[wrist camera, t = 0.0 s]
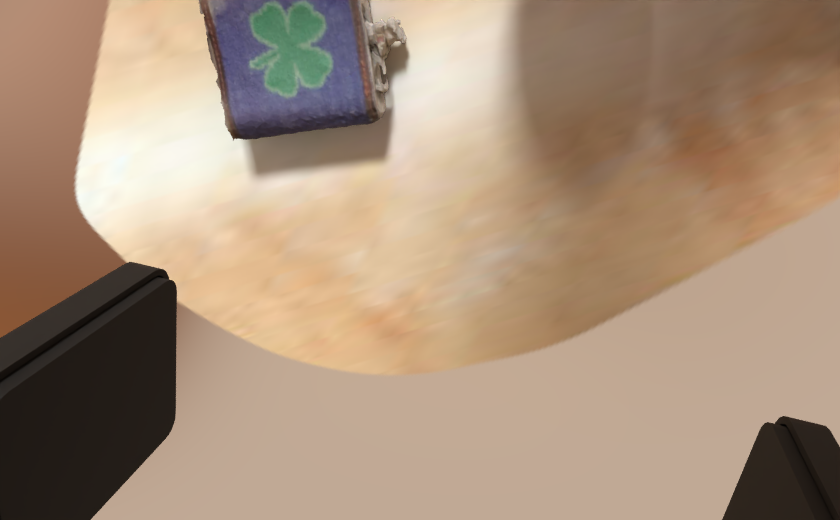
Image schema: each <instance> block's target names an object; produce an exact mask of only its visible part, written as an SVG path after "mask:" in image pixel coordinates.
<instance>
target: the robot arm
mask: <svg viewBox="0 0 840 520" xmlns="http://www.w3.org/2000/svg"><path fill="white" fill-rule="evenodd" d="M176 304H177V290H176V285H175V282H174V281H172V280H169V277H168V274H167V272H166V271H165V270H163V269H159V268H155V267H151V266H146V265H142V264H138V263H133V262H129V263H126V264H124V265H122V266H121V267H119V268H117V269H116V270H114V271H112V272H111V273H109V274H107V275H105V276H104V277H102V278H100V279H99V280H97V281H96V282H94V283H92V284H90V285H89V286H87V287H85V288H84V289H82V290H80V291H79V292H77V293H75V294H74V295H72V296H70V297H69V298H67V299H65V300H64V301H62V302H60V303H58V304H57V305H55V306H53V307H52V308H50V309H48V310H47V311H45V312H43V313H42V314H40V315H38V316H37V317H35V318H33V319H31V320H30V321H28V322H26V323H25V324H23V325H21V326H20V327H18V328H17V329H15V330H13V331H11V332H10V333H8V334H6V335H5V336H3V337H1V338H0V520H91V519H92V517H93V516H94V515H95V514H96V513H97V512H98V511H99V510H100V509H101V508H102V506H104V505H105V503H106V502H107V501H108V500H109V499H110V498H111V497H112V496H113V495H114V494H115V493H116V491H118V489H119V488H120V487H121V486H122V485H123V484H124V483H125V482H126V481H127V480H128V479H129V477H130V476H131V475H132V474H133V473H134V472H135V471H136V470H137V469H138V468H139V467H140V466H141V465H142V463H143V462H144V461H145V460H146V459H147V458H148V457H149V456H150V455H151V454H152V453H153V452H154V450H155V449H156V448H157V447H158V446H159V445H160V444H161V443H162V442H163V441H164V440H165V439H166V437H167V436H168V435H169V433H170V431H171V430H172V427H173V424H174V421H175V411H176V309H177V307H176ZM722 520H840V447H839V445H838V443H837V442H836V440H835V438H834V437H833V435H832V433H831V431H830V430H829V429H828V428H827V427H826V426H823V425H819V424H815V423H811V422H806V421H803V420H798V419H794V418H790V417H785V416H783V417H780V418H779V419H778V420H777V421H776V422H775V424H773V423H769V422H767V423H765V424H764V425H763V426H762V427H761V429H760V431H759V433H758V436H757V438H756V441H755V443H754V445H753V448H752V450H751V452H750V455H749V457H748V460H747V462H746V464H745V467H744V469H743V472H742V474H741V476H740V479H739V481H738V483H737V486H736V488H735V491H734V493H733V495H732V498H731V500H730V503H729V505H728V507H727V510H726V512H725V515H724V517H723V519H722Z"/></svg>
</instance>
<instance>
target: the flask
mask: <svg viewBox="0 0 840 520" xmlns="http://www.w3.org/2000/svg"><path fill="white" fill-rule="evenodd" d="M199 3H200V12H201V14H204V15H205V17H204V20H205V26H206V35H207V37H208V38H207V41H208V46H209V52H210V55H211V60H212V63H214V66H215V68H216V70H217V73H218V79H217V81H216V82H217V84H218V86H219V88H220V90H221V104H222V106H223V109H224V114H225V125H226V127H227V128H228V131H229V132H230V134H231V136H232V138H233V141H234V139H235V138H236V139H237V138H240V139H257V138H260V137H271V136H277V135H282V134H293V133H297V132H303V131H312V130H318V129H326V128H337V127H347V126H352V125H361V124H370V123H373V122H375V121H377V120H379V119H380V118H381V117H382V115H383V113H384V112H385V108H386V104H385V99H384V94H383V93H384V92H387V90H388V80H387V76H386V81H385V84H382V79H381V71H380V65H381V67H382V71H383V74H384V75H385V74H386V66H385V61H384V60H385V59H386V58H387V55H388V53H389V51H390V45H391V44H393V43H394V42H395V41H401V42H402V43H405V42H406V36H405V34H404V31H403V28H402V27H401V28H400V27H399V25H400V20H396V21H395V18H394V17H391V18H389V19H388V21H387V23H385V22H384V21H383V20H382V19H381V20H380V21H379V22H376V23H374V24H373V23H372V19H371V12H370V7H369V2H368V0H199Z"/></svg>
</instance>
